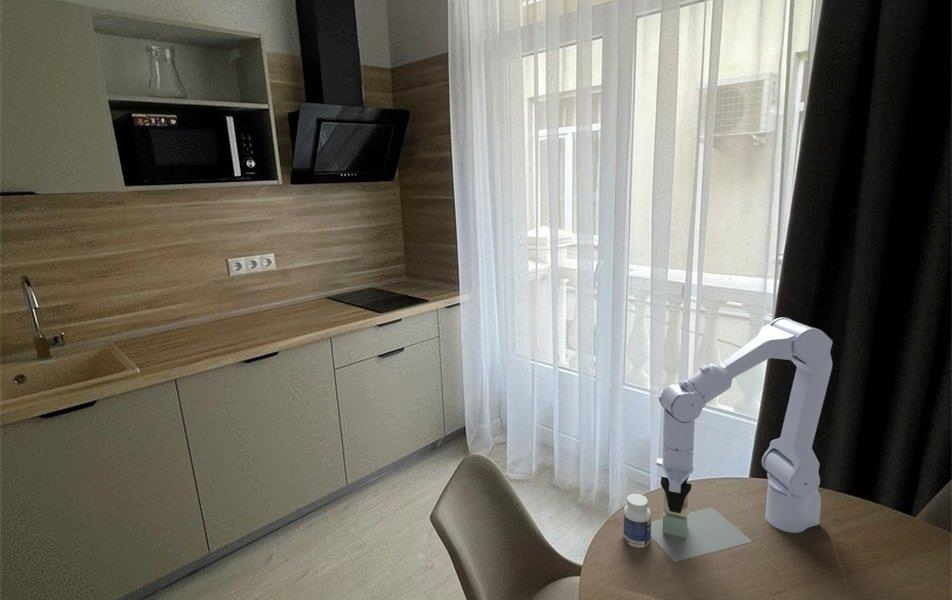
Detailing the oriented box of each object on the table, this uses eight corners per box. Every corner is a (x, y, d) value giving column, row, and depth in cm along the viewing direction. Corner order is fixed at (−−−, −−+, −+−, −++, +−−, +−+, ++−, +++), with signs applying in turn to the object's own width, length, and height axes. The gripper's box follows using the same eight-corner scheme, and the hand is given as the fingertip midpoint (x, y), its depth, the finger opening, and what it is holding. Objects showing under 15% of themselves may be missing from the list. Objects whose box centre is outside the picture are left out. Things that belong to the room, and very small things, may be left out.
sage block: (664, 519, 105) (665, 503, 104) (687, 524, 103) (687, 508, 102) (662, 532, 101) (663, 515, 100) (686, 538, 99) (686, 521, 98)
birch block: (665, 500, 104) (666, 481, 103) (687, 504, 102) (688, 485, 101) (663, 512, 100) (664, 493, 99) (686, 517, 98) (687, 497, 97)
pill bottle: (652, 552, 97) (653, 508, 95) (624, 549, 98) (624, 506, 96) (648, 533, 102) (649, 492, 100) (622, 531, 103) (622, 490, 101)
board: (711, 510, 108) (712, 507, 108) (752, 545, 97) (752, 541, 97) (640, 527, 104) (640, 524, 104) (674, 565, 93) (674, 562, 93)
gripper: (660, 425, 106) (658, 481, 109) (653, 458, 93) (651, 520, 96) (696, 430, 103) (693, 487, 105) (693, 465, 90) (690, 529, 93)
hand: (675, 504), depth 100 cm, fingers closed on birch block, 4 cm apart
